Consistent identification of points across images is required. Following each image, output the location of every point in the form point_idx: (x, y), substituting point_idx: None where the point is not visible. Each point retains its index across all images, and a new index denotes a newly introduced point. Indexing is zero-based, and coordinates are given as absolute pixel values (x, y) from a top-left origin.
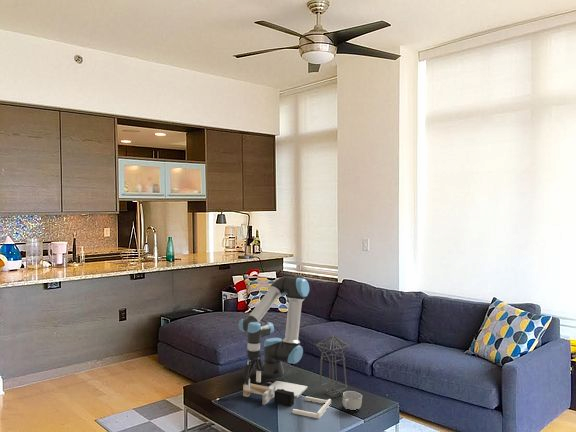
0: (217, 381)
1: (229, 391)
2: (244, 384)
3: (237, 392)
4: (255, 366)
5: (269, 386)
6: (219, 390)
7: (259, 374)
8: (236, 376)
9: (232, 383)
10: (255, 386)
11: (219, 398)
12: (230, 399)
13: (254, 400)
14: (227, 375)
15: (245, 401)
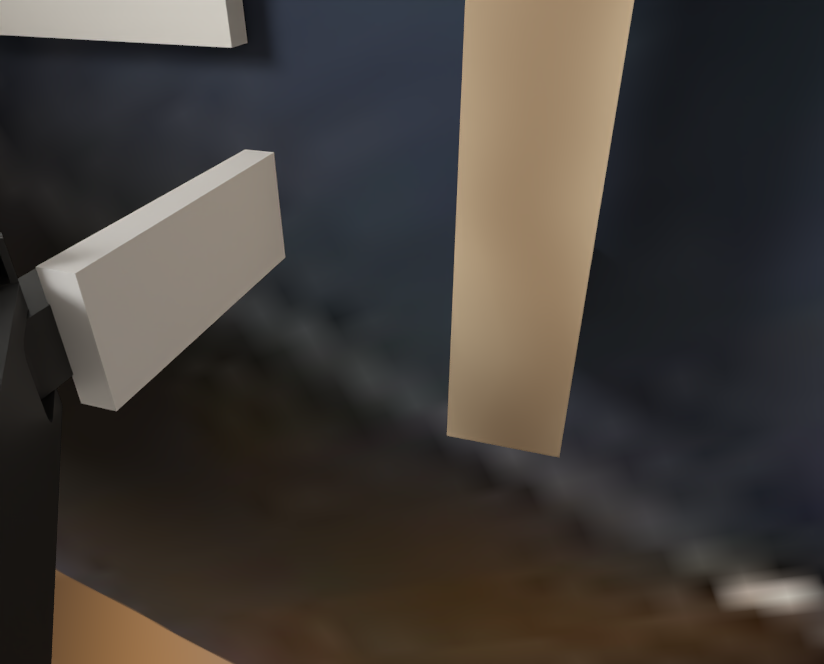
0: (303, 653)
1: (489, 520)
2: (561, 434)
3: None
4: (53, 574)
5: (74, 31)
6: (506, 613)
7: (153, 258)
8: (99, 533)
9: (265, 533)
10: (591, 157)
11: (761, 581)
12: (766, 455)
13: (719, 56)
14: (137, 602)
15: (810, 210)
